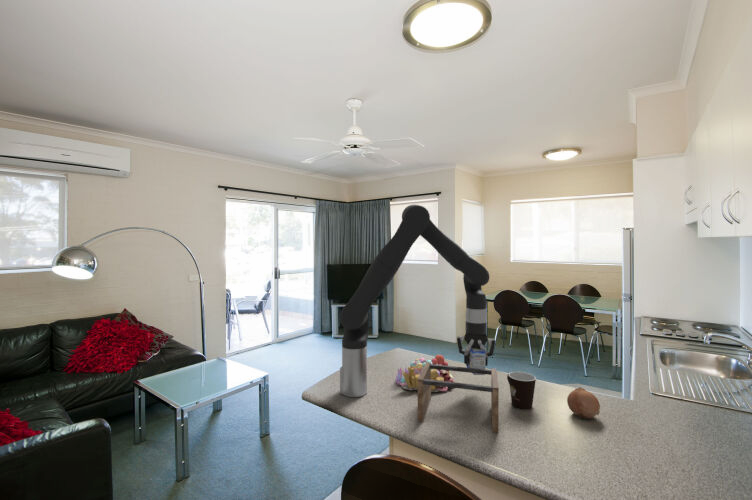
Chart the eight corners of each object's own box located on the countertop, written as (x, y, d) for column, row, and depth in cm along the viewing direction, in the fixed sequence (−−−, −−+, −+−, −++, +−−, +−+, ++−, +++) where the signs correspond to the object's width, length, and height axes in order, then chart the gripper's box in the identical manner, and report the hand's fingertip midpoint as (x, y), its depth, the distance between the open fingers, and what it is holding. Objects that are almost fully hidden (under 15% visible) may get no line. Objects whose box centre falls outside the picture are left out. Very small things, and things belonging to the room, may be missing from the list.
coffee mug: (538, 412, 115) (538, 382, 115) (510, 410, 116) (510, 379, 116) (530, 397, 126) (530, 369, 126) (505, 395, 128) (505, 368, 128)
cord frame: (417, 421, 109) (417, 379, 109) (426, 398, 125) (426, 362, 125) (498, 432, 102) (498, 388, 102) (496, 407, 118) (496, 368, 118)
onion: (576, 419, 116) (571, 388, 120) (606, 421, 110) (601, 388, 114) (564, 417, 111) (560, 385, 115) (596, 419, 104) (590, 385, 109)
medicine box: (466, 367, 134) (466, 345, 134) (477, 367, 134) (477, 344, 134) (473, 375, 126) (473, 351, 126) (485, 375, 126) (485, 350, 126)
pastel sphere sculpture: (461, 395, 129) (461, 370, 129) (397, 394, 129) (397, 369, 129) (448, 371, 154) (448, 350, 154) (394, 371, 154) (394, 350, 154)
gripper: (455, 321, 129) (455, 367, 129) (496, 323, 124) (496, 371, 125) (456, 317, 136) (456, 361, 136) (496, 319, 132) (496, 364, 132)
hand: (475, 365), depth 130 cm, fingers closed on medicine box, 5 cm apart
